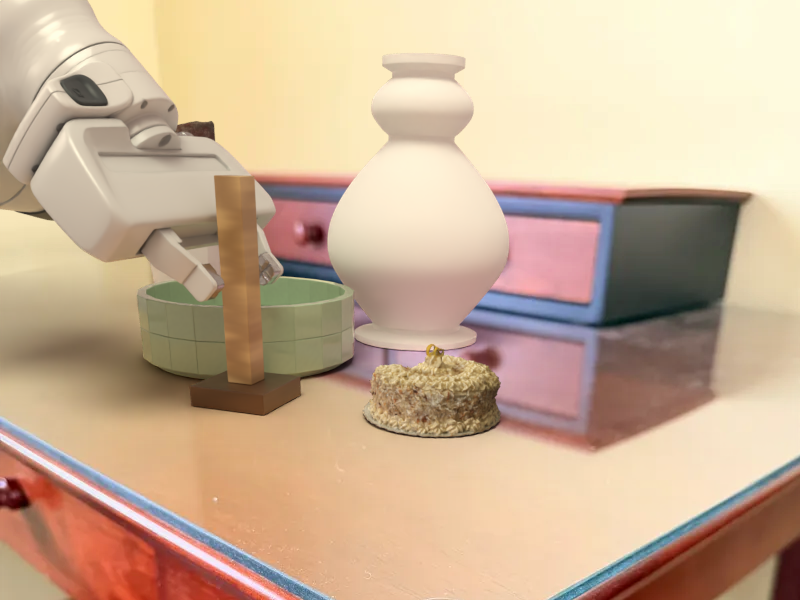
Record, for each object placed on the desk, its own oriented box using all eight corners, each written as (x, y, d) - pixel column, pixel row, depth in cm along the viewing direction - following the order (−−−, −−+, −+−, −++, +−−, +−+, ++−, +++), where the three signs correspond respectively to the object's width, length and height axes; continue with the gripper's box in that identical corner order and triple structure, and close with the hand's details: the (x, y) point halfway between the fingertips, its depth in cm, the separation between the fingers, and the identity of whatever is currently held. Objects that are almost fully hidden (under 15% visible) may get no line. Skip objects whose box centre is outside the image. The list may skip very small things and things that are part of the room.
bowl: (115, 381, 66) (105, 304, 63) (175, 335, 83) (169, 273, 80) (346, 387, 66) (345, 310, 63) (359, 339, 83) (359, 278, 80)
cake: (528, 426, 59) (539, 353, 57) (430, 457, 53) (438, 377, 50) (431, 387, 65) (437, 319, 63) (333, 411, 59) (336, 337, 56)
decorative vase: (322, 354, 76) (316, 42, 66) (334, 320, 92) (331, 64, 82) (513, 359, 77) (538, 49, 66) (491, 323, 93) (509, 70, 82)
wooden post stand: (190, 405, 60) (170, 174, 53) (233, 386, 65) (218, 173, 59) (263, 415, 58) (251, 177, 52) (301, 395, 63) (294, 176, 57)
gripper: (175, 164, 67) (286, 296, 69) (-19, 164, 50) (135, 341, 51) (218, 103, 64) (334, 242, 65) (27, 80, 47) (191, 271, 48)
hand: (246, 286), depth 58 cm, fingers open, 7 cm apart
